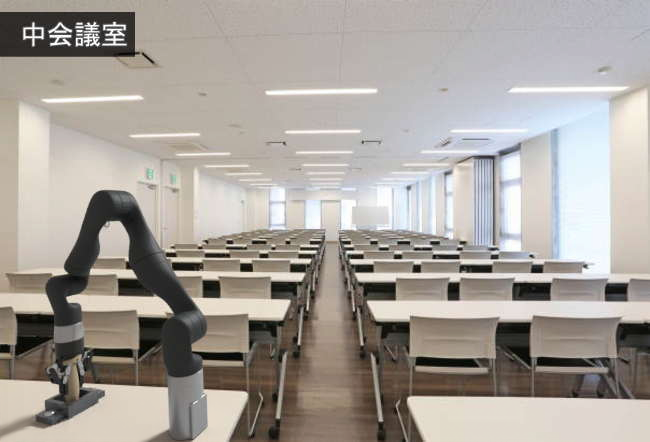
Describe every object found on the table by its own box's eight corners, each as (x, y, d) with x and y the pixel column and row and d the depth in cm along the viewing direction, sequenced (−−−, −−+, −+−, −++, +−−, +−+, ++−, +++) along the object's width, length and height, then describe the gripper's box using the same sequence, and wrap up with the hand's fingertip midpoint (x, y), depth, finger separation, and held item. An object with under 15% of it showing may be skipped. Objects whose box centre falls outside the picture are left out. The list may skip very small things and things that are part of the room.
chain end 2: (108, 396, 115) (108, 384, 115) (72, 417, 104) (72, 404, 104) (86, 391, 119) (85, 380, 119) (49, 411, 108) (48, 398, 107)
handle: (87, 398, 112) (85, 352, 111) (70, 409, 106) (68, 361, 105) (74, 397, 113) (71, 352, 112) (56, 409, 106) (54, 361, 106)
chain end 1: (95, 404, 111) (94, 392, 111) (56, 426, 100) (55, 413, 99) (72, 399, 114) (71, 387, 114) (32, 420, 103) (31, 407, 103)
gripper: (53, 347, 100) (56, 404, 101) (99, 330, 114) (101, 381, 114) (36, 344, 103) (39, 400, 103) (83, 328, 116) (85, 378, 117)
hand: (72, 390), depth 109 cm, fingers closed on handle, 4 cm apart
